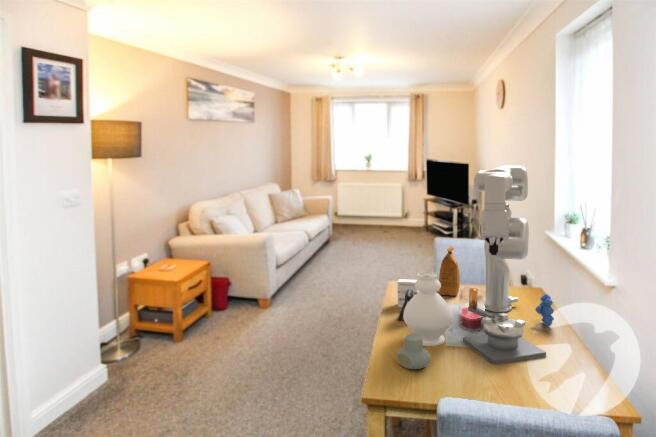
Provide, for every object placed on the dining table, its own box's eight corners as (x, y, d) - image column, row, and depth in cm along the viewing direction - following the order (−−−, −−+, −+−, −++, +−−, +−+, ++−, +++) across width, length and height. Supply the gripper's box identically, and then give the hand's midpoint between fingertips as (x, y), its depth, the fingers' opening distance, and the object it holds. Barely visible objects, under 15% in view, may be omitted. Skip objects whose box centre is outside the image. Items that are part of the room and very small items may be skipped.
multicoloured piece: (531, 334, 171) (532, 302, 169) (503, 342, 165) (504, 309, 164) (483, 314, 191) (483, 285, 190) (456, 320, 186) (457, 291, 184)
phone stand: (421, 317, 207) (420, 289, 205) (419, 322, 202) (419, 294, 200) (399, 315, 210) (399, 288, 208) (397, 321, 204) (397, 293, 202)
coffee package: (462, 290, 241) (462, 245, 238) (458, 297, 230) (458, 251, 226) (441, 288, 245) (441, 244, 241) (436, 295, 234) (436, 250, 230)
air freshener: (434, 368, 162) (434, 339, 161) (416, 375, 158) (416, 345, 156) (410, 356, 171) (410, 329, 170) (392, 363, 166) (392, 335, 165)
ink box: (418, 304, 223) (418, 279, 221) (417, 308, 218) (417, 282, 216) (398, 303, 225) (398, 278, 223) (397, 307, 220) (397, 281, 218)
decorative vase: (398, 345, 180) (398, 279, 176) (409, 327, 196) (408, 266, 192) (448, 352, 174) (449, 283, 170) (455, 332, 190) (455, 269, 186)
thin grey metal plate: (510, 334, 187) (510, 319, 186) (546, 356, 168) (546, 339, 167) (462, 341, 182) (462, 325, 181) (493, 364, 163) (494, 347, 162)
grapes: (531, 318, 202) (532, 290, 200) (548, 319, 201) (549, 290, 199) (538, 329, 191) (539, 299, 189) (556, 330, 190) (558, 300, 188)
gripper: (512, 205, 190) (510, 252, 193) (472, 206, 192) (471, 252, 195) (517, 208, 183) (516, 256, 186) (476, 209, 184) (475, 257, 187)
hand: (493, 254), depth 190 cm, fingers closed
